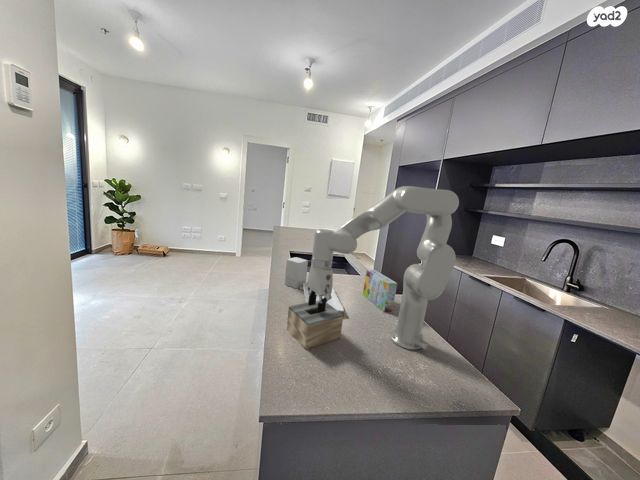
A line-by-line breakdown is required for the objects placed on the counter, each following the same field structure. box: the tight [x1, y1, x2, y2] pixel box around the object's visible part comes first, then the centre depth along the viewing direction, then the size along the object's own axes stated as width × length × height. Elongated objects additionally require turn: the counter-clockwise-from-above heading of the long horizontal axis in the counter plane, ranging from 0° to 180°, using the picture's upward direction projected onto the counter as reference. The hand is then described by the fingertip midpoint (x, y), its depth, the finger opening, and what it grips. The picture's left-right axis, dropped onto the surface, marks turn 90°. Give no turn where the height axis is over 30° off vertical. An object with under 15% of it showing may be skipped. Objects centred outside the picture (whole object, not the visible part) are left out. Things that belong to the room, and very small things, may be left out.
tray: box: [302, 282, 345, 313], centre depth 134 cm, size 17×31×4 cm, turn 9°
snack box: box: [362, 269, 399, 313], centre depth 139 cm, size 21×6×15 cm, turn 22°
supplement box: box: [284, 256, 309, 289], centre depth 150 cm, size 9×9×15 cm
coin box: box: [286, 301, 344, 350], centre depth 103 cm, size 14×16×10 cm
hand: (316, 307), depth 102 cm, fingers open, 5 cm apart
